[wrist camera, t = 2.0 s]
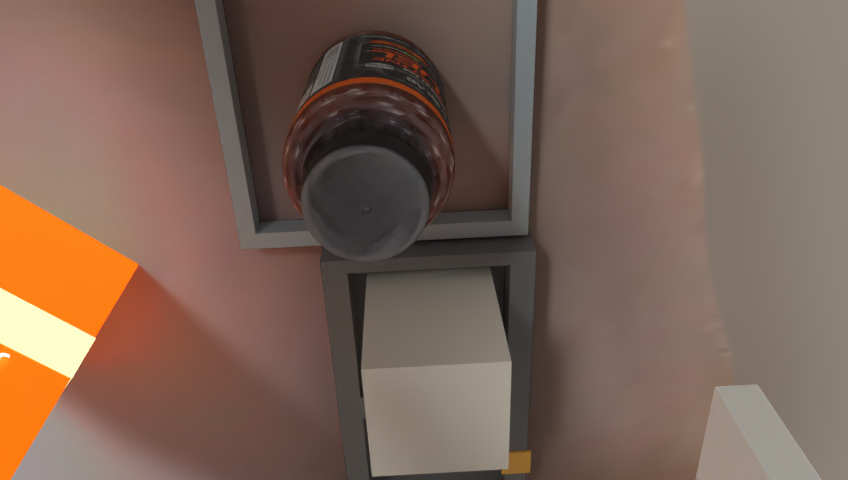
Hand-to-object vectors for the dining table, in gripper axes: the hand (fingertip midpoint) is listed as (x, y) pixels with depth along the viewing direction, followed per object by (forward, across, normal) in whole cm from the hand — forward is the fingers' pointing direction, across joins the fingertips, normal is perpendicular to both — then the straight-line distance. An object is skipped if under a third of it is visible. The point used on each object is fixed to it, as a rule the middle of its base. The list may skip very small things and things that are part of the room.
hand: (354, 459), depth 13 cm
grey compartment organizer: (+21, +2, -16) cm, 27 cm away
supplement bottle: (+21, 0, 0) cm, 21 cm away
